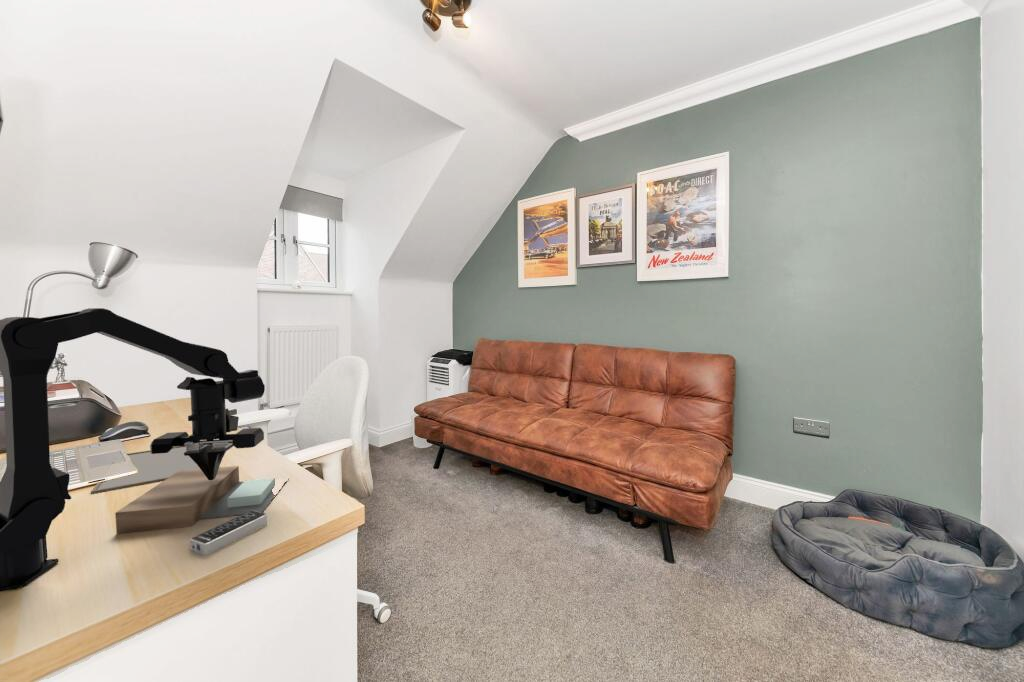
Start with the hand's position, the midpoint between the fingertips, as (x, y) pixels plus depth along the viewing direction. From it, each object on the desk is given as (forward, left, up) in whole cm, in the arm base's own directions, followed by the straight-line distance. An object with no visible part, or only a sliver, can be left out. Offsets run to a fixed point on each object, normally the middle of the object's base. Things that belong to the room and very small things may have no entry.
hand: (212, 479), depth 84 cm
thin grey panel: (+27, +25, -6) cm, 37 cm away
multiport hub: (-15, -10, -6) cm, 19 cm away
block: (0, -7, -3) cm, 8 cm away
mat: (+1, -7, -5) cm, 8 cm away
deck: (0, +5, -5) cm, 7 cm away
